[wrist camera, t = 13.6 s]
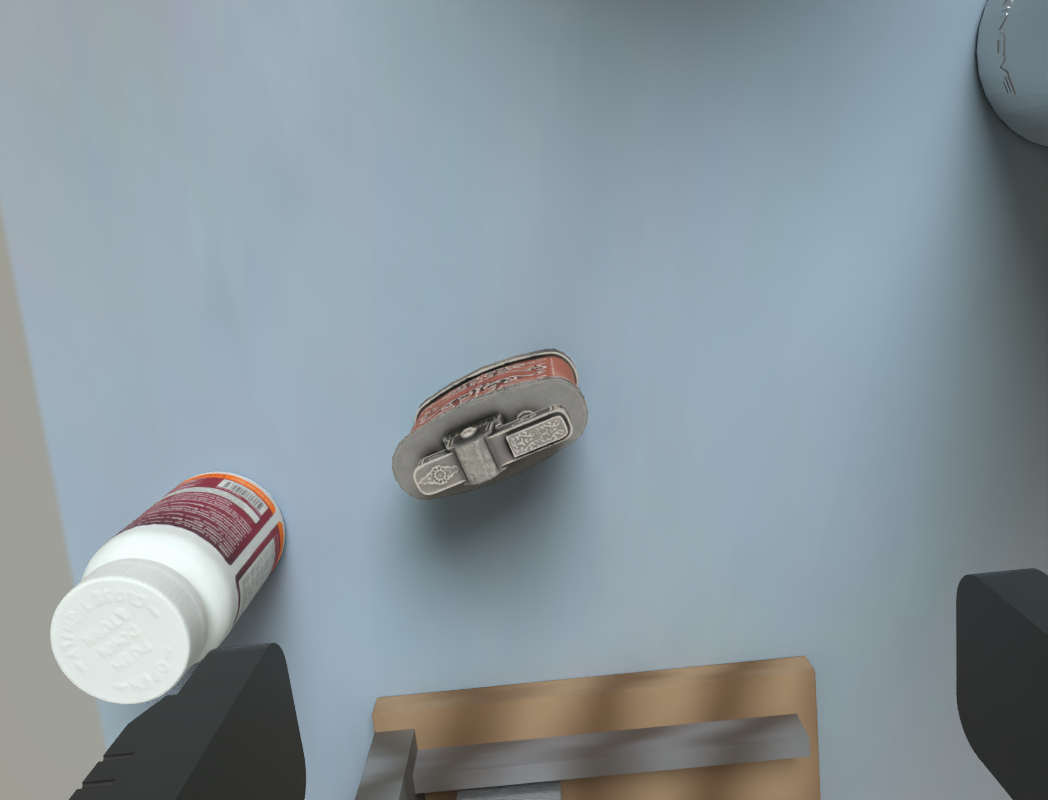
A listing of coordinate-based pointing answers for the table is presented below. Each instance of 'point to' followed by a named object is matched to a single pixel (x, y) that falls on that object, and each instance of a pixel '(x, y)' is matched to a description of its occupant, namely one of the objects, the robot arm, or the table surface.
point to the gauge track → (608, 736)
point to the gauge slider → (515, 792)
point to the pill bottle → (168, 588)
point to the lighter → (491, 425)
